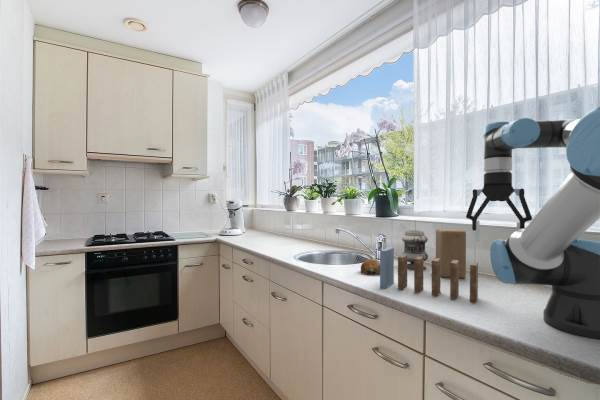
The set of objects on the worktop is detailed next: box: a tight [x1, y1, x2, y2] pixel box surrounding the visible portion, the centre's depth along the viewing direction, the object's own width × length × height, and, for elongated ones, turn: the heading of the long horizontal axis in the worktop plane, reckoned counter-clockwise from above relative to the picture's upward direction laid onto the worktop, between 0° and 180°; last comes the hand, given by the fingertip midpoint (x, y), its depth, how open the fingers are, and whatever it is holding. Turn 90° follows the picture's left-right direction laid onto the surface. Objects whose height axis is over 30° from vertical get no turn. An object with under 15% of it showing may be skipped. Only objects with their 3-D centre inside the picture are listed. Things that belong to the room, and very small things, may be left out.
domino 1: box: [397, 254, 408, 291], centre depth 113 cm, size 2×6×12 cm, turn 145°
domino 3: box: [431, 257, 441, 297], centre depth 106 cm, size 2×6×12 cm, turn 145°
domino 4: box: [449, 260, 460, 300], centre depth 103 cm, size 2×6×12 cm, turn 145°
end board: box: [379, 246, 395, 290], centre depth 116 cm, size 2×10×14 cm, turn 146°
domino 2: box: [413, 256, 424, 294], centre depth 110 cm, size 2×6×12 cm, turn 146°
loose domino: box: [469, 261, 479, 304], centre depth 100 cm, size 2×6×12 cm, turn 145°
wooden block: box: [435, 228, 467, 279], centre depth 132 cm, size 10×10×20 cm
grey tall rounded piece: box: [401, 229, 429, 271], centre depth 147 cm, size 12×12×18 cm
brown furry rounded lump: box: [360, 258, 380, 276], centre depth 137 cm, size 10×10×8 cm
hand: (497, 242), depth 96 cm, fingers open, 10 cm apart
